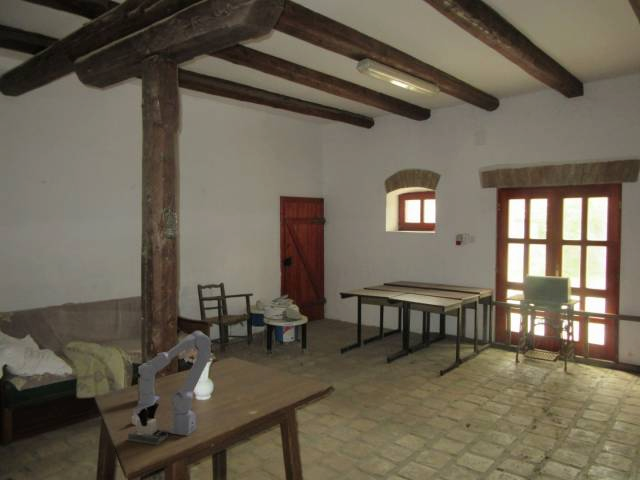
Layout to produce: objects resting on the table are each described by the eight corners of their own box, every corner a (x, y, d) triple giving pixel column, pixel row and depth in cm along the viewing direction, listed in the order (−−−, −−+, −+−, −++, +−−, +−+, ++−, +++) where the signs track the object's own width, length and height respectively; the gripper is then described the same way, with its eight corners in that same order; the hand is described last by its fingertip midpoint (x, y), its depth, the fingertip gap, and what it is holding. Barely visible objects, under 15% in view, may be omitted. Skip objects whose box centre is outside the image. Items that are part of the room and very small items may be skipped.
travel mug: (134, 402, 242) (134, 367, 240) (147, 396, 249) (146, 363, 248) (146, 405, 238) (145, 370, 237) (158, 399, 245) (157, 365, 244)
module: (156, 430, 204) (156, 419, 204) (151, 434, 200) (151, 423, 200) (142, 428, 206) (142, 417, 206) (137, 432, 202) (136, 421, 202)
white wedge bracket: (155, 413, 223) (147, 400, 219) (139, 429, 217) (129, 416, 213) (151, 410, 225) (142, 398, 222) (134, 427, 219) (125, 414, 215)
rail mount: (168, 436, 205) (168, 430, 205) (157, 444, 198) (157, 438, 198) (138, 432, 209) (138, 426, 209) (127, 439, 202) (127, 434, 202)
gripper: (149, 385, 210) (149, 415, 211) (127, 397, 196) (128, 429, 197) (163, 386, 208) (163, 417, 209) (142, 399, 194) (143, 431, 195)
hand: (147, 423), depth 203 cm, fingers closed on module, 4 cm apart
